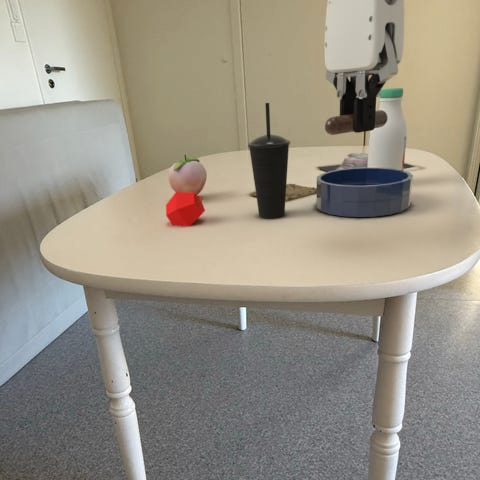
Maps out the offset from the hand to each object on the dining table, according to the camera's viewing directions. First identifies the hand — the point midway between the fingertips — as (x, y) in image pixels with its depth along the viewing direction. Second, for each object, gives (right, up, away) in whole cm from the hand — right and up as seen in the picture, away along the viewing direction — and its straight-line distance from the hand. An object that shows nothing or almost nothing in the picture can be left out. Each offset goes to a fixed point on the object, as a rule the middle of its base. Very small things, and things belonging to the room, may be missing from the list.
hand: (356, 129), depth 61 cm
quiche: (+19, +15, +60) cm, 65 cm away
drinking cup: (-10, -6, +26) cm, 28 cm away
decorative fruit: (-28, +2, +44) cm, 52 cm away
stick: (0, 0, 0) cm, 0 cm away
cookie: (-6, +3, +41) cm, 42 cm away
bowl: (+8, -4, +27) cm, 28 cm away
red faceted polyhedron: (-26, -8, +26) cm, 37 cm away
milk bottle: (+17, +4, +41) cm, 44 cm away
